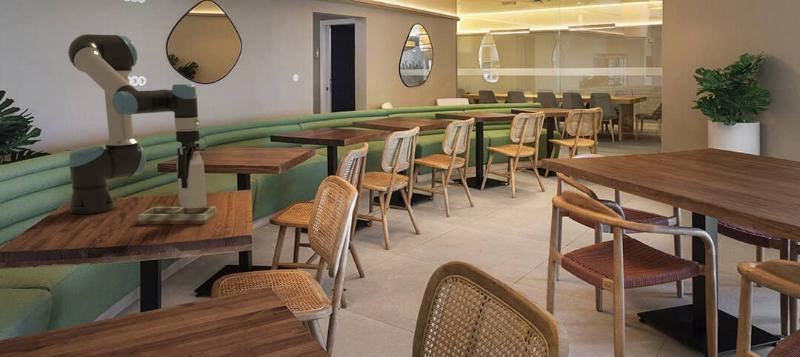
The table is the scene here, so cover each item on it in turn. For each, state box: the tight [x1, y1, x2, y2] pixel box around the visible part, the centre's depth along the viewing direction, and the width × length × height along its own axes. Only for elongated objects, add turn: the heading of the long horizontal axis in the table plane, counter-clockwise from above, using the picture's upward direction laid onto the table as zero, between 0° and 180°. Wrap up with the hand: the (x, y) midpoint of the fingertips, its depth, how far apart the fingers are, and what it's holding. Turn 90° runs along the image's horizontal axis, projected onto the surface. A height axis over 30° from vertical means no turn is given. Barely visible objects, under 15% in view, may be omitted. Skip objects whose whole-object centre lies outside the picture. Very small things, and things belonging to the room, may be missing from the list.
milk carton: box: [175, 151, 208, 208], centre depth 206 cm, size 7×7×19 cm
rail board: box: [137, 206, 218, 225], centre depth 209 cm, size 23×12×3 cm, turn 88°
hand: (192, 194), depth 207 cm, fingers closed on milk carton, 10 cm apart
